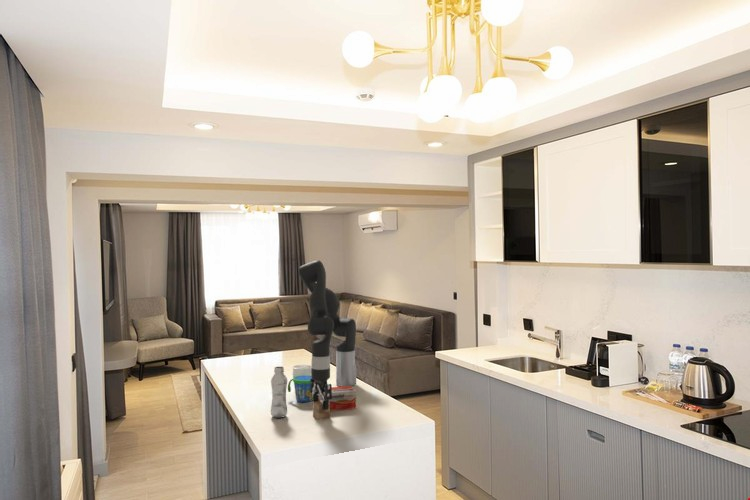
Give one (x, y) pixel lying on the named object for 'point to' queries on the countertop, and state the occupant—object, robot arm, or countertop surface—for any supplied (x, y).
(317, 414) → the walnut block
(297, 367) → the cup
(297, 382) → the snack cup
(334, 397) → the medicine box
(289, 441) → the countertop surface
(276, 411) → the plastic bottle
